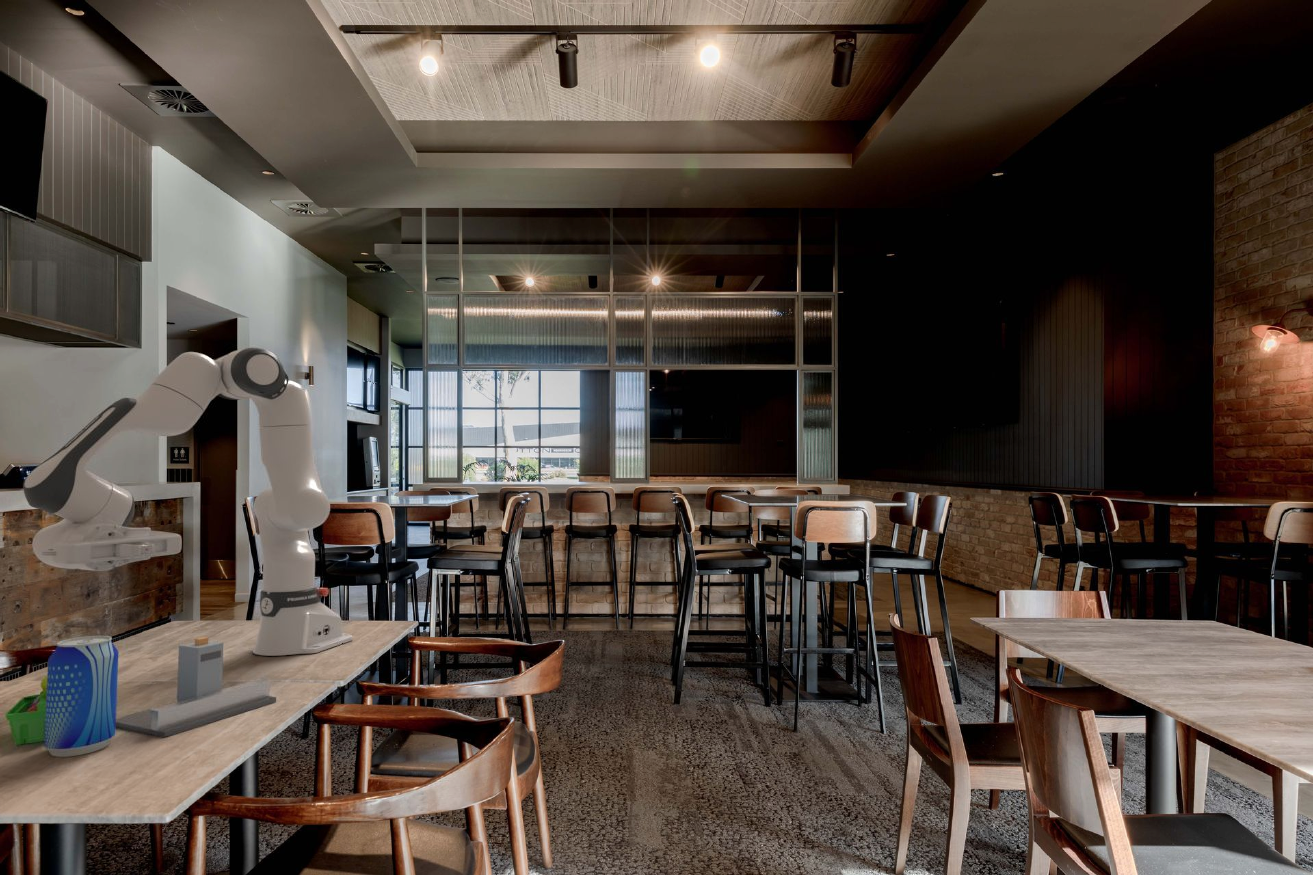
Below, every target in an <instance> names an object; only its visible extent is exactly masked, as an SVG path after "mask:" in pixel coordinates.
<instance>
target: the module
mask: <svg viewBox="0 0 1313 875" xmlns="http://www.w3.org/2000/svg"><path fill="white" fill-rule="evenodd" d="M177 663H178V664H177V686H176V687H177V690H176V691H177V694H176V702H179V701H182V700H186V699H190V698H193V697H197V696H200V695H204V694H207V693H211V692H215V691H218V690H222V689H223V674H224V673H223V671H224V670H223V668H224V667H223V666H224V665H223V664H224V642H220V641H212V640H211V641H210V640H209V637H205V636H202V637H198V638H194V641H193V642H190V643H186V644H179V645H178V662H177Z"/></svg>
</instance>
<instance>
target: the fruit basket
mask: <svg viewBox="0 0 1313 875" xmlns="http://www.w3.org/2000/svg"><path fill="white" fill-rule="evenodd" d="M40 687H41V689H42V690H41V691H40V693H39V694H33V695H27V696H23V697H21V699H20V700H18V702H16V703H15V704H14V705H13V706H12V708H10V709H9V710H8V711H7V712H6V713H5V714H4V715H5V717H6V721H8V723H9V727H10V730H11V734H12V736H13V740H14V743H15V746H20V745H24V744H34V743H41V742H44V741H45V718H46V696H47V675H46V676H45V677H43V679H42V680H41V682H40Z"/></svg>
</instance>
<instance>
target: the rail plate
mask: <svg viewBox="0 0 1313 875" xmlns="http://www.w3.org/2000/svg"><path fill="white" fill-rule="evenodd" d="M270 688H271V679H269V678H257V679H254V680H251V681H248V682H243V683H240V684H237V685H233V686H229V687H226V688H222V690H218V691H215V692H211V693H207V694H204V695H200V696H197V697H193V698H190V699H186V700H182V701H179V702H177V701H174V702H170V703H166V704H164V705H159V706H156V707H152V708H149V709H146V710H142V711H139V712H138V711H137V712H134V713H132V714H128V715H123V716H119V717H116V728H118V729H124V730H128V731H133V732H138V733H142V734H147V735H151V734H152V735H151V736H155V737H160V736H162V737H161V738H167V737H166V736H168V737H170V736H174V735H176V734H179V733H183V732H186V731H189V730H192V729H195V728H199V727H202V726H204V725H208V724H211V723H214V722H217V721H220V720H223V719H226V718H230V717H233V716H235V715H238V714H243V713H245V712H248V711H252V710H255V709H257V708H262V707H264V706H267V705H271V704H273V703H276V702H277V697H276V696H271V693H270V690H271V689H270Z"/></svg>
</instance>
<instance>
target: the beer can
mask: <svg viewBox="0 0 1313 875" xmlns="http://www.w3.org/2000/svg"><path fill="white" fill-rule="evenodd" d="M112 639H113V638H112V636H109V635H90V636H89V635H88V636H87V635H86V636H81V637H78V636H77V637H73V638H67V639H63V640H60V641H58V642H57V643H56V648H55V649H54V651H53V652H52V654H51V655H50V656H49V658H48V660H47V675H46V676H47V696H46V718H45V741H43V742H44V744H43V745H44V748H45V749H46V750H48V752H49V754H50V755H51V756H53V757H58V758H59V757H60V758H61V757H62V758H66V757H74V756H75V757H76V756H82V755H86V754H89V753H90V754H91V753H93V752H94V753H95V752H97V751H100V750H102V749H104V748H106V747H108V745H109V744H110V742H111V740H112V739H113V738H114V737H115V735H116V728H117V727H116V718H117V705H118V704H117V700H118V678H119V676H118V674H119V650H118V648H117V647H116V646H115V644H114V643H113V642H112Z"/></svg>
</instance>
